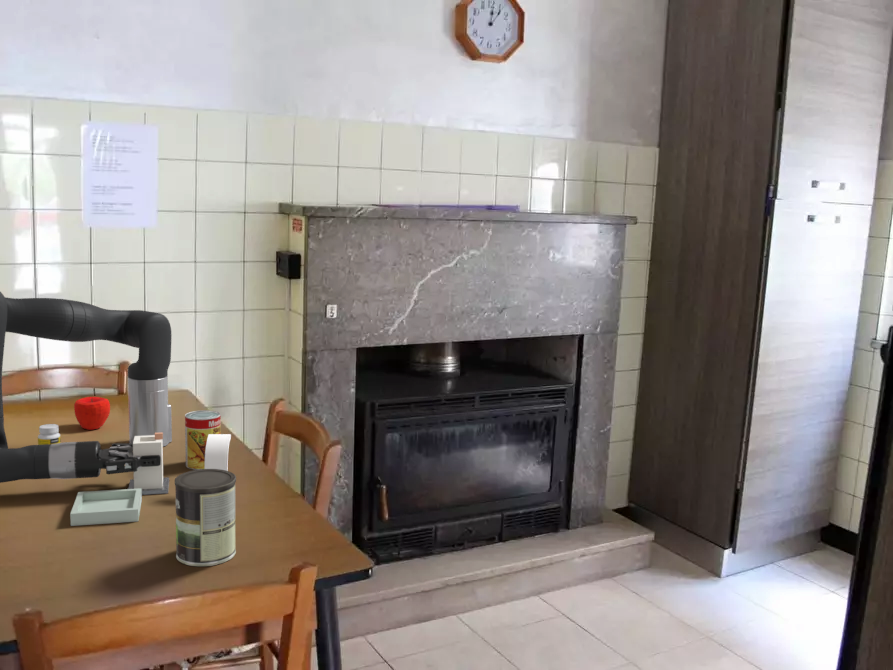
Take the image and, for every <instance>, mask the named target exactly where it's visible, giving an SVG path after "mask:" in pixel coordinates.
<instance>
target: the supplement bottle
mask: <svg viewBox="0 0 893 670" xmlns="http://www.w3.org/2000/svg"><path fill="white" fill-rule="evenodd" d="M59 429H60V428H59V425H58V424H55V423H46V424H42V425H40V426H39V429H38V430H39V434H38V435H37V445H46V444H57V443H62V441H61V440H62V439H61V433H59V431H60V430H59Z"/></svg>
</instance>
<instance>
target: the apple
mask: <svg viewBox="0 0 893 670" xmlns="http://www.w3.org/2000/svg"><path fill="white" fill-rule="evenodd" d="M73 408H74V416H75V418H76V420H77V423H78V424H79V426H80V427H81V428H82V429H84V430H89V431H93V430H98V429H100V428H102V427H103V426H104V424H105V423H106V421H107V419H108V418H109V417H110V416H109V415H110V413H111V404H110V401H109V399H108V398H105V397H101V396H86V397H82V398H80V399H79V398H78V399H77V400H75V403H74V406H73Z"/></svg>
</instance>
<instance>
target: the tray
mask: <svg viewBox="0 0 893 670" xmlns="http://www.w3.org/2000/svg"><path fill="white" fill-rule="evenodd" d="M142 497H143V495H142V488H138V489H128V488H127V489H126V488H125V489H109V490H106V489H105V490H92V491H90V490H89V491H78V492H77V494H76V497H75V500H74V503H73V506H72V508H71V510H70V515H69V517H70V519H69V520H70V526H71V527H74V526H89V525H90V526H91V525H102V524H103V525H105V524H117V523H118V524H119V523H133V522H139V519H140V514H141V508H142V500H143V498H142Z"/></svg>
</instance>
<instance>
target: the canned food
mask: <svg viewBox="0 0 893 670" xmlns="http://www.w3.org/2000/svg"><path fill="white" fill-rule="evenodd" d="M221 423H222V422H221V413H220V412H219V411H216V410H211V409H209V410H207V409H203V410H202V409H201V410H194V411H190V412H187V413H185V414H184V427H185V429H184V430H185V431H184V432H185V433H184V434H185V436H184V437H185V439H184V440H185V446H184V447H185V467H186V468H187V469H189V470H192V471H193V470H200V469H205V450H206V443H207V438H208V435H209V434H222V432H221V431H222V429H221V428H222V427H221V426H222V425H221Z"/></svg>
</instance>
